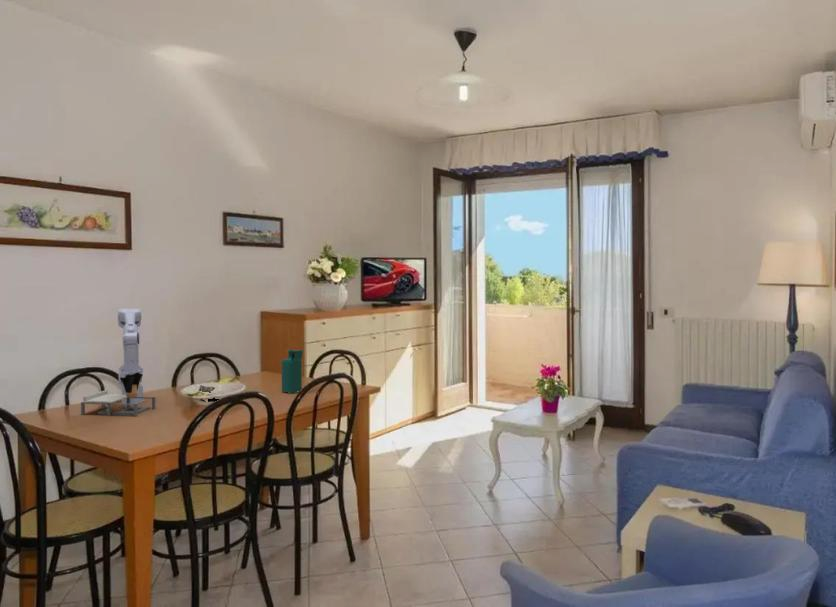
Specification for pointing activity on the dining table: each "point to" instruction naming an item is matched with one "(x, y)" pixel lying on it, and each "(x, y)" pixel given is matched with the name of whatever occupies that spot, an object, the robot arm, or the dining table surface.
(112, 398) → the lid
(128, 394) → the brown round cylinder
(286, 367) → the teal bottle
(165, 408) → the dining table surface
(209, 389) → the caster wheel
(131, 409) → the grey base stand
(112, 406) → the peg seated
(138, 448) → the dining table surface
